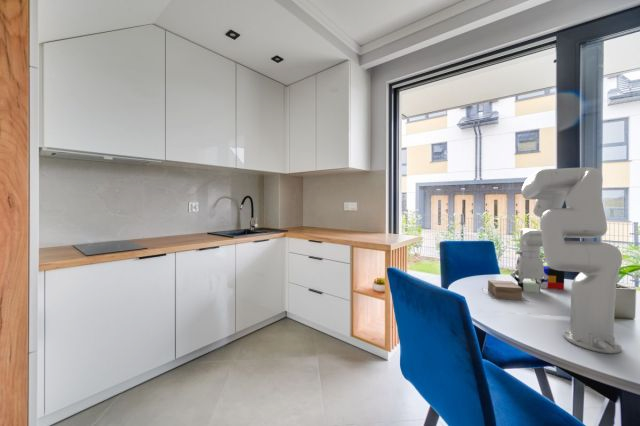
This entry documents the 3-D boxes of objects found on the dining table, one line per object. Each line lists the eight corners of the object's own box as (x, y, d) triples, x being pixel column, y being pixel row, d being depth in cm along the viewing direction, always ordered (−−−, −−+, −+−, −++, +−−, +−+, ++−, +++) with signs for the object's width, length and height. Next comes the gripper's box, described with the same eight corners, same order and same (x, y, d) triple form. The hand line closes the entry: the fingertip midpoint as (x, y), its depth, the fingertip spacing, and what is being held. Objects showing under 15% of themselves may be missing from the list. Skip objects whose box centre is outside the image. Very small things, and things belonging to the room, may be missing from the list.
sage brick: (539, 295, 125) (539, 284, 125) (524, 294, 127) (524, 283, 126) (532, 290, 131) (533, 280, 131) (518, 290, 132) (518, 280, 132)
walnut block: (521, 299, 116) (522, 288, 116) (495, 297, 119) (496, 286, 119) (511, 291, 126) (512, 281, 126) (487, 290, 129) (488, 280, 128)
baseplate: (529, 304, 114) (529, 301, 114) (492, 301, 118) (492, 298, 118) (514, 293, 127) (514, 290, 127) (481, 291, 131) (481, 288, 131)
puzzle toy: (539, 287, 135) (540, 268, 135) (531, 282, 145) (531, 263, 144) (563, 289, 132) (564, 269, 132) (553, 283, 142) (554, 265, 141)
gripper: (512, 255, 126) (511, 292, 127) (555, 256, 122) (554, 295, 123) (505, 252, 134) (504, 287, 134) (546, 253, 129) (545, 290, 130)
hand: (528, 291), depth 129 cm, fingers closed on sage brick, 6 cm apart
